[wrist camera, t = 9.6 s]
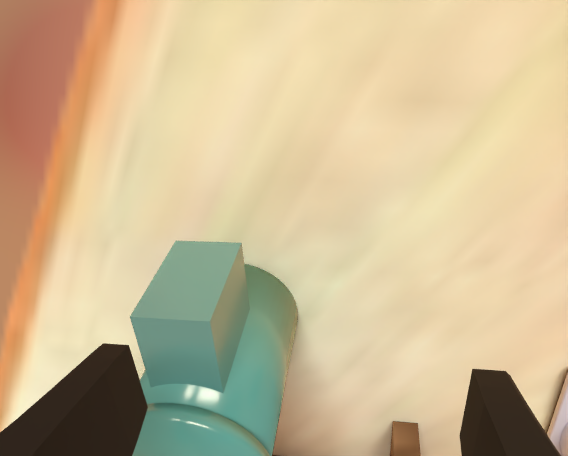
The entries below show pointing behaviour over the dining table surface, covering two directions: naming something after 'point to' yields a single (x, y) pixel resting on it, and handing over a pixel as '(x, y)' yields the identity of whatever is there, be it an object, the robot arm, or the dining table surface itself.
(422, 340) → the dining table surface
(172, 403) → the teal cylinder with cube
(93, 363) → the robot arm
